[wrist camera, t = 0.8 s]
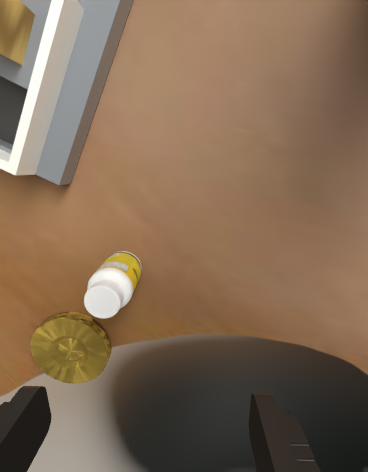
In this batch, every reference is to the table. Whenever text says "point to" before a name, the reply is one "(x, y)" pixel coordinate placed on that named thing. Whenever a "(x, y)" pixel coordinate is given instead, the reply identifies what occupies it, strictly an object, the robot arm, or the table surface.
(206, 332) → the table surface
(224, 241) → the table surface
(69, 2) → the walled pit deck
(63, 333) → the gold flat disc
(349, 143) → the table surface
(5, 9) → the mustard block
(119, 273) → the supplement bottle
